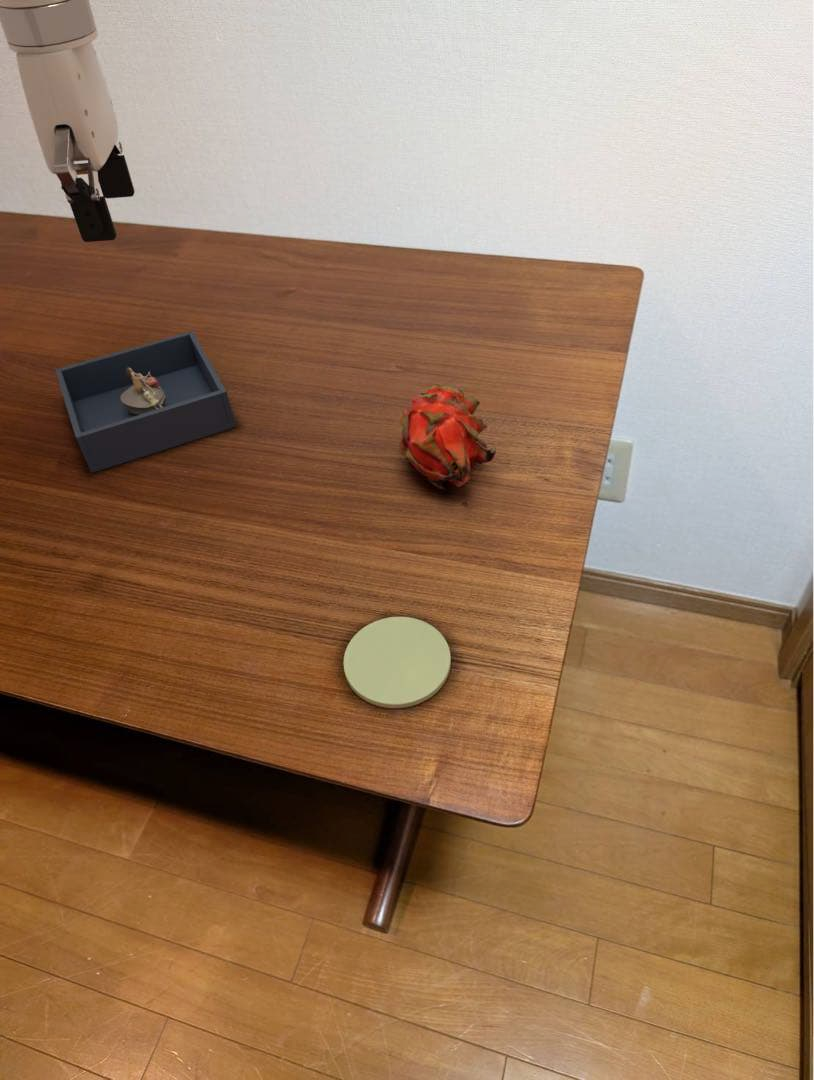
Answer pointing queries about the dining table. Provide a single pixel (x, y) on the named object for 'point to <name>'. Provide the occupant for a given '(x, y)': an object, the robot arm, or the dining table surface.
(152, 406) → the figurine
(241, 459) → the dining table surface
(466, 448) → the dragon fruit
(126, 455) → the basket
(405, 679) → the mat
